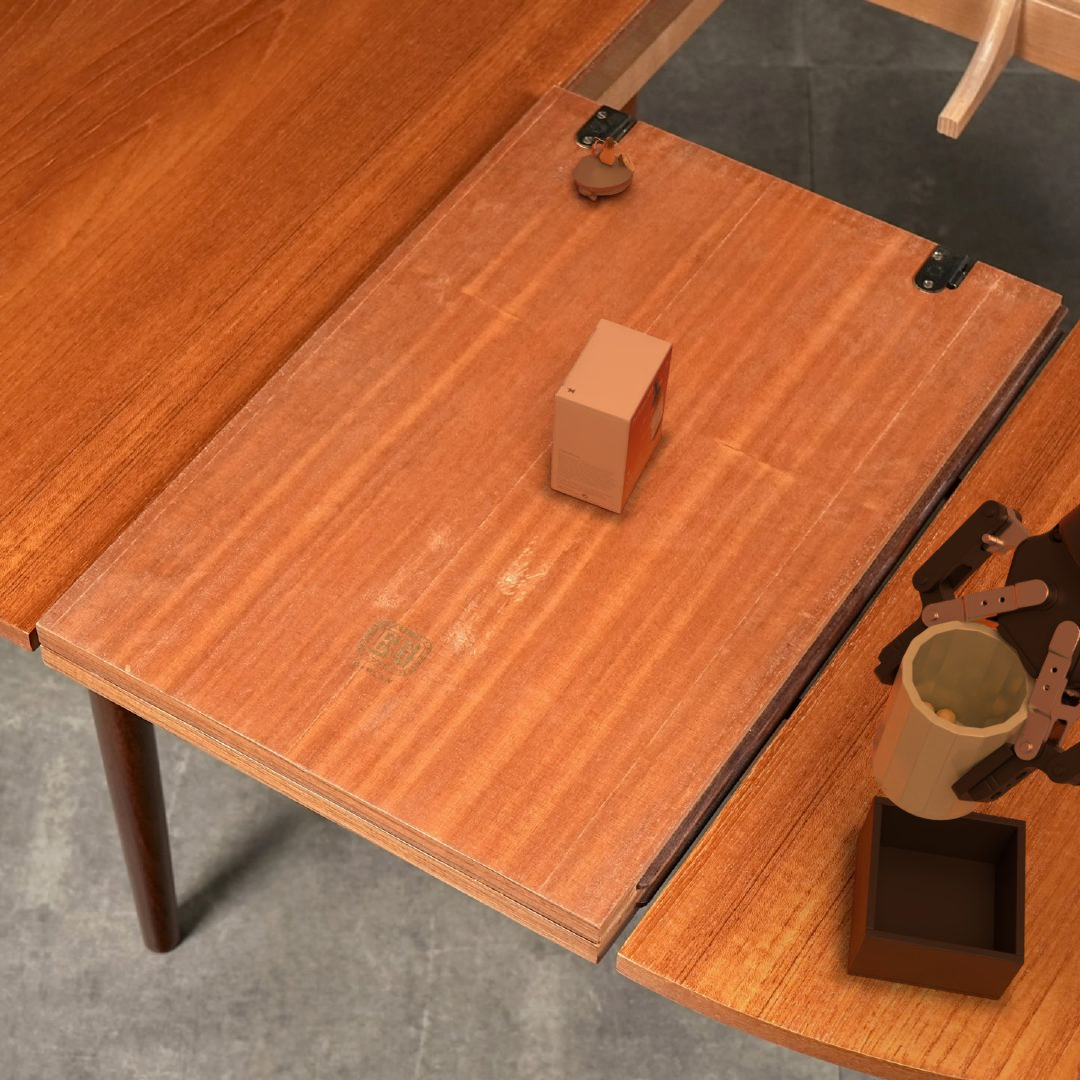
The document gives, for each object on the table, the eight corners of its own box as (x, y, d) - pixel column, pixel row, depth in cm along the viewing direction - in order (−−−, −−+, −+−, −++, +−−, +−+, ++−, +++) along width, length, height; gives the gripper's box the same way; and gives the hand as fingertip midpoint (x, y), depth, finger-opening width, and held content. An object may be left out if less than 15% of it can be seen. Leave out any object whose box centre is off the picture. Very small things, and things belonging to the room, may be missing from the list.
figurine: (577, 210, 138) (580, 154, 133) (566, 173, 140) (568, 116, 135) (640, 202, 138) (646, 146, 133) (628, 165, 141) (633, 109, 136)
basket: (998, 1000, 101) (1024, 963, 96) (847, 974, 101) (865, 936, 97) (1001, 862, 106) (1026, 820, 101) (857, 838, 107) (874, 795, 102)
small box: (620, 517, 120) (629, 424, 112) (548, 489, 121) (552, 395, 113) (663, 437, 124) (675, 341, 116) (593, 411, 126) (600, 314, 117)
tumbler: (991, 718, 90) (1033, 628, 83) (995, 827, 87) (1040, 743, 79) (870, 704, 91) (902, 614, 83) (869, 813, 87) (902, 728, 80)
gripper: (1065, 390, 79) (810, 616, 86) (1265, 629, 72) (969, 855, 78) (1125, 425, 85) (881, 634, 91) (1316, 649, 77) (1035, 859, 84)
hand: (923, 735), depth 85 cm, fingers closed on tumbler, 6 cm apart
